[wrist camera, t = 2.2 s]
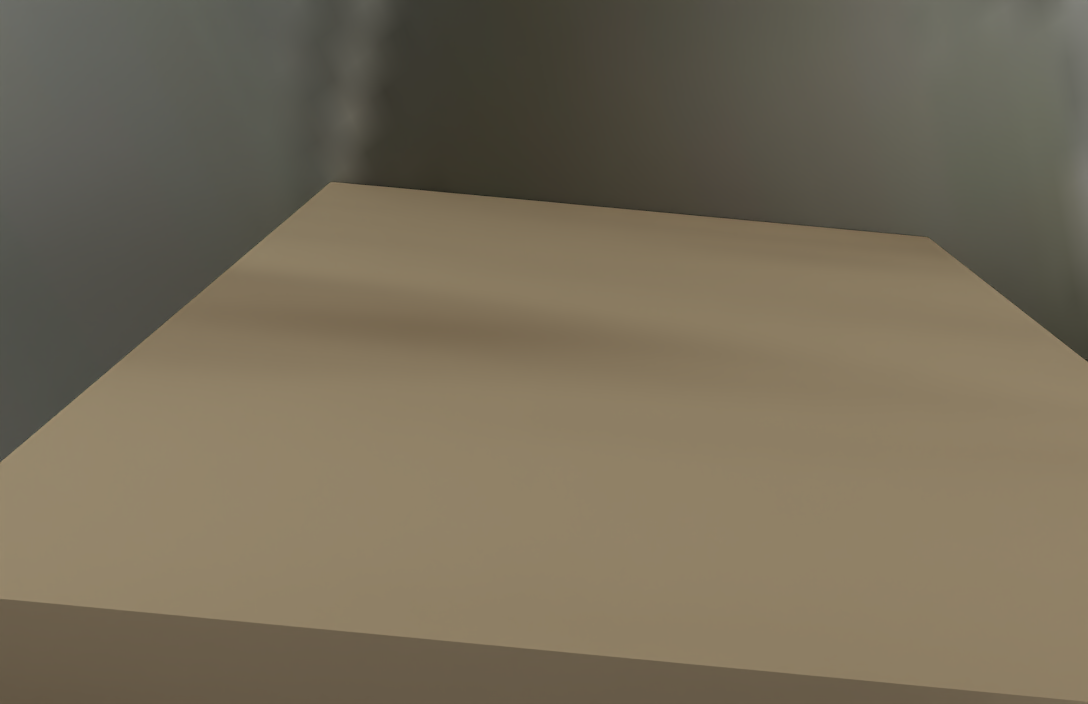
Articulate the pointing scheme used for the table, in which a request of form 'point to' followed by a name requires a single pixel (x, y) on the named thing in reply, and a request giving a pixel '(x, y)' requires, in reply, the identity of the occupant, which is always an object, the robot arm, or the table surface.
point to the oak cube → (560, 474)
